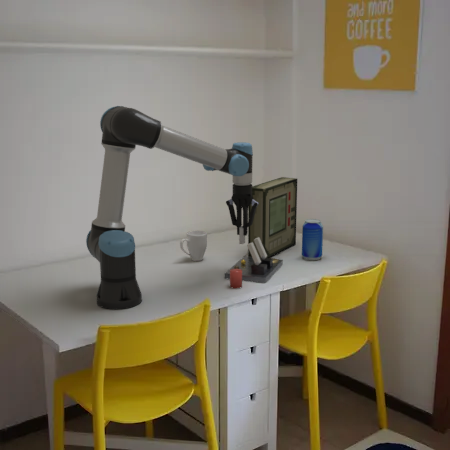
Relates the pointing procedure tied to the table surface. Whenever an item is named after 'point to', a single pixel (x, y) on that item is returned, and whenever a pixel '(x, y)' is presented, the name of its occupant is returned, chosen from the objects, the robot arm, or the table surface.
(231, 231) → the table surface
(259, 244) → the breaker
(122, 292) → the robot arm
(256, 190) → the control panel
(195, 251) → the mug
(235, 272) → the red rounded cylinder
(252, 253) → the breaker
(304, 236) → the beer can
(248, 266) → the panel
